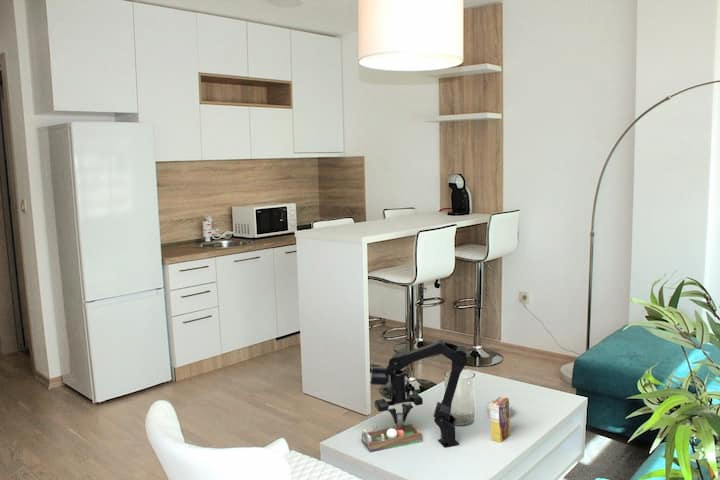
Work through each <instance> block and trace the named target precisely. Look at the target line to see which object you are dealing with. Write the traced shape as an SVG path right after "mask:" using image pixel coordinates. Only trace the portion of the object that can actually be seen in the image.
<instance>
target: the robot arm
mask: <svg viewBox="0 0 720 480" xmlns="http://www.w3.org/2000/svg"><path fill="white" fill-rule="evenodd" d="M438 354H440V355H442V356H444V357H445V358H447V359H449V360H450V361H451V370H450V374H449V378H448V381H447V384H446V388H445V391H444V394H443V399H442V400H441V402H439V401H437V404H436V407H435V409H434V413H433V416H432V417H433V418H434V419H433V420H434V423H435V424H436V426H437V427H439V430H440V438H438V439H437V442H438V443H439V444H440V445H441V446H442V447H444V448H448V447H454V446H457V445H459V446H460V442H459V441H458V440H457V439H456V437H457V436H456V434H457V433H456V421H457V418H456V417H454V415H453V414H451V413H452V403H453V400H454V396H455V392H456V389H457V387H458V382H459V379H460V376H461V373H462V371H463V370H464V369H465V367H466V364H467V363H468V359H469V354H470V353H469V350H468V348H467V347H465V346H462V345H461V346H460V345H457V344H454V343H451V342H450V343H449V342H446V341H444V340H441V339H439V340H437V341H435V342H432V343H430V344H427V345H424V346H422V347H419V348H416V349H413V350H410V351H399V352H398V351H397V352H395V353H393V354H392V355H391V357H390V359H389V362H388V364H387V365H386V367H385V368H383V367H373V368H372V370H371V371H372V373H371V377H370V382H371V385H372V386H385V387H382V389H381V390H382V391H381V392H382V396H383V397H385V396H386V397H387V398H388V399H389V400H388V401H386V399H384V398H380V399H376V400H375V401H374V408H375V409H376V410H377V411H378V413H379V412H386V411H388V412H389V413H390V415H391V418H392V420H393V423H394V425H396V422H397V419H396V413H397V409H396V408H395V406H399V405H401V407H402V408H401V409H402V412H401V413H403V423H405V422H406V420H407V417H408V415H409V413H410V411H411V410H412V409H414V405H415V406H421V405H423V404H424V400H423V397H421V395H419V394H418V393H412V394H411V393H410V394H408V397H406V392H407V388H406V377H409V375H410V374H411V373H410V371H409V370H408V369H407V368H406V367H407V366H409V365H410V364H412V363H414V362H417V361H420V360H423V359H425V358H428V357H431V356H434V355H438ZM389 383H390V385H389V388H388V387H386V386H387V385H388V384H389ZM413 404H414V405H413Z"/></svg>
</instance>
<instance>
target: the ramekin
mask: <svg viewBox="0 0 720 480" xmlns="http://www.w3.org/2000/svg"><path fill="white" fill-rule="evenodd" d="M495 400H496V399H494V400H489V401H487V402H485V409H486V415H487V416H488V417H489V419H491V417H490V404H491V403H492V402H493V401H495ZM512 409H513V404H512V403H511V402H509V416H510V417H511V414H512Z"/></svg>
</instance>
